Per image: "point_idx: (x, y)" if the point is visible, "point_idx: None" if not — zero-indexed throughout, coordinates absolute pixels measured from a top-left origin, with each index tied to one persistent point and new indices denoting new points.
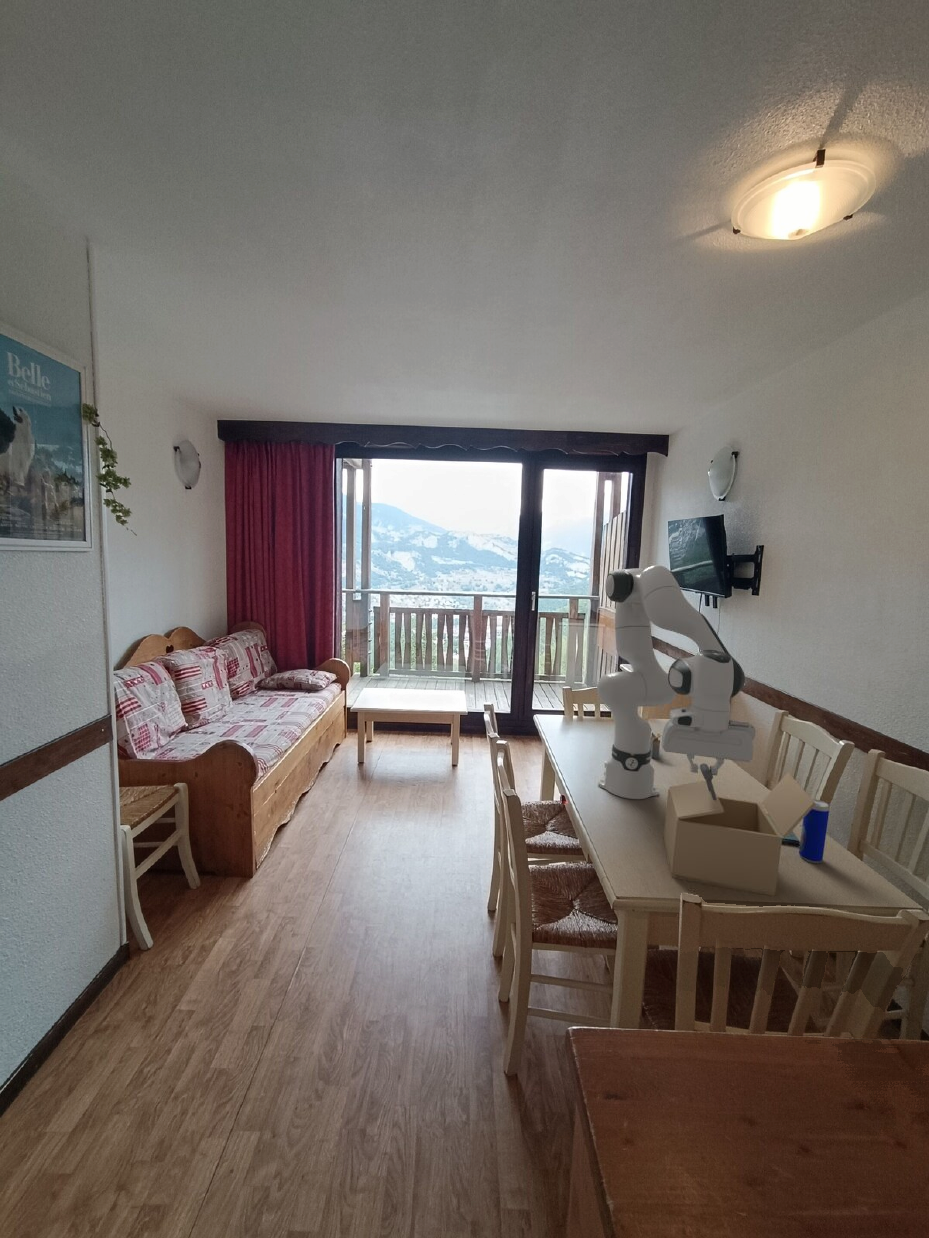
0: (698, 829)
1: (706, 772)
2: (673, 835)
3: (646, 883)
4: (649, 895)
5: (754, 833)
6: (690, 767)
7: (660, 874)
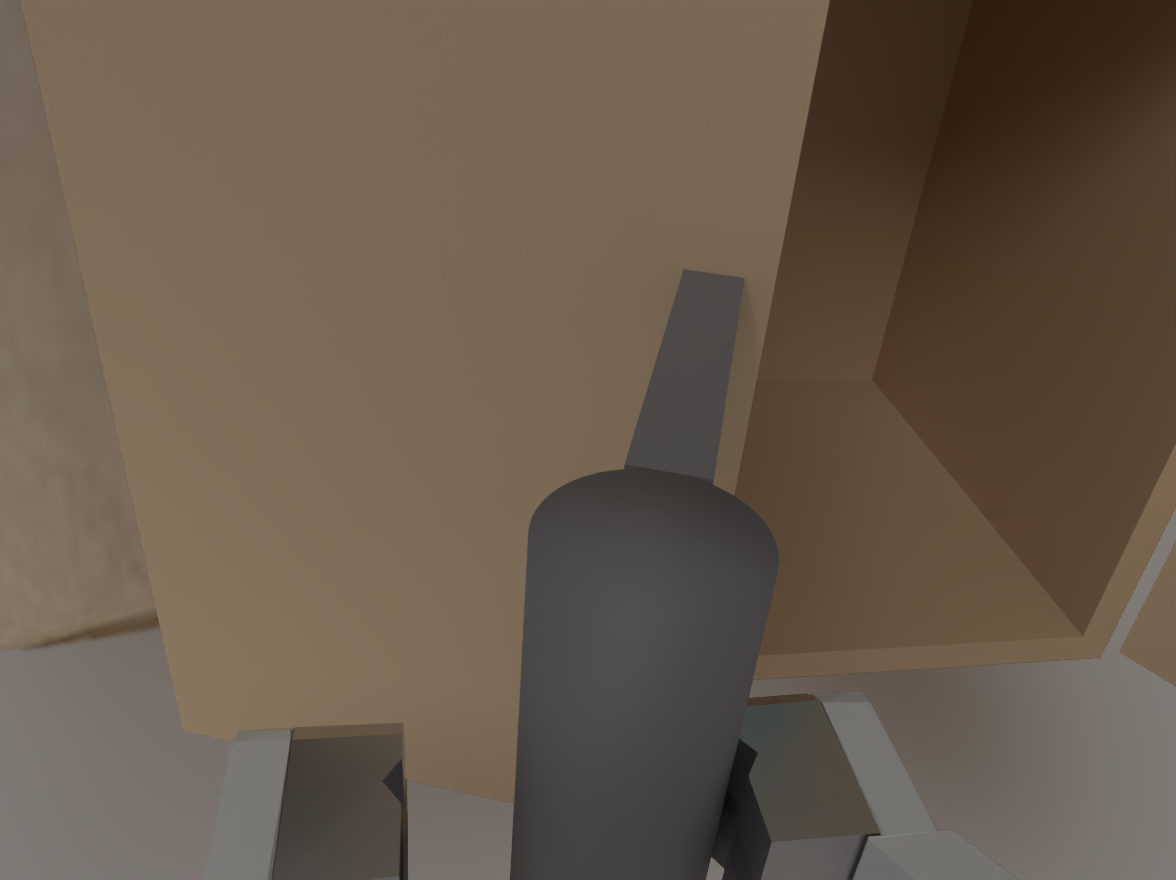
0: None
1: None
2: None
3: (110, 507)
4: (142, 602)
5: (894, 667)
6: (226, 774)
7: None
